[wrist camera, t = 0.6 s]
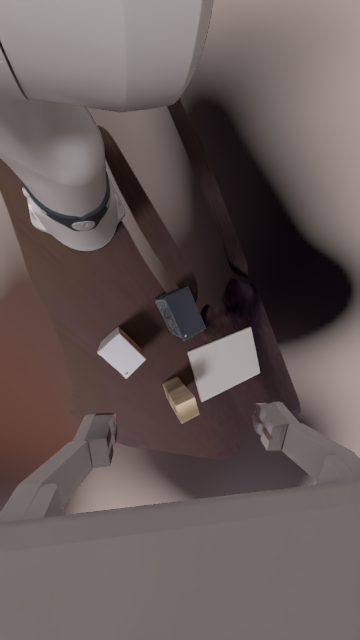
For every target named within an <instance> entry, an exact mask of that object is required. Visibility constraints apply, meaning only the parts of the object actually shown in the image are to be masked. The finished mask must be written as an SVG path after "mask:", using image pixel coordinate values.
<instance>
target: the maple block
mask: <svg viewBox="0 0 360 640" xmlns="http://www.w3.org/2000/svg"><path fill="white" fill-rule="evenodd" d="M162 384H163V388H164V391H165V394H166V397H167V399H168V401H169V403H170V404H171V406H172V408H173V410H174V412H175V413H176V415H177V417H178V419H179V421H180V422H181V424H182V423H184V422H186V421H188V420H190V419H192V418H194V417H196V416H198V415H200V414H199V411H198V407H197V404H196V400H195V397H194V396H193V395H192V393H191V392H190V391H189V390H188V389H187V387H186V386H185V385H184V384H183V383H182V382H181V380H180V379H179V378H178V377H175V378H172V379H170V380H168V381H165V382H163V383H162Z"/></svg>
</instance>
